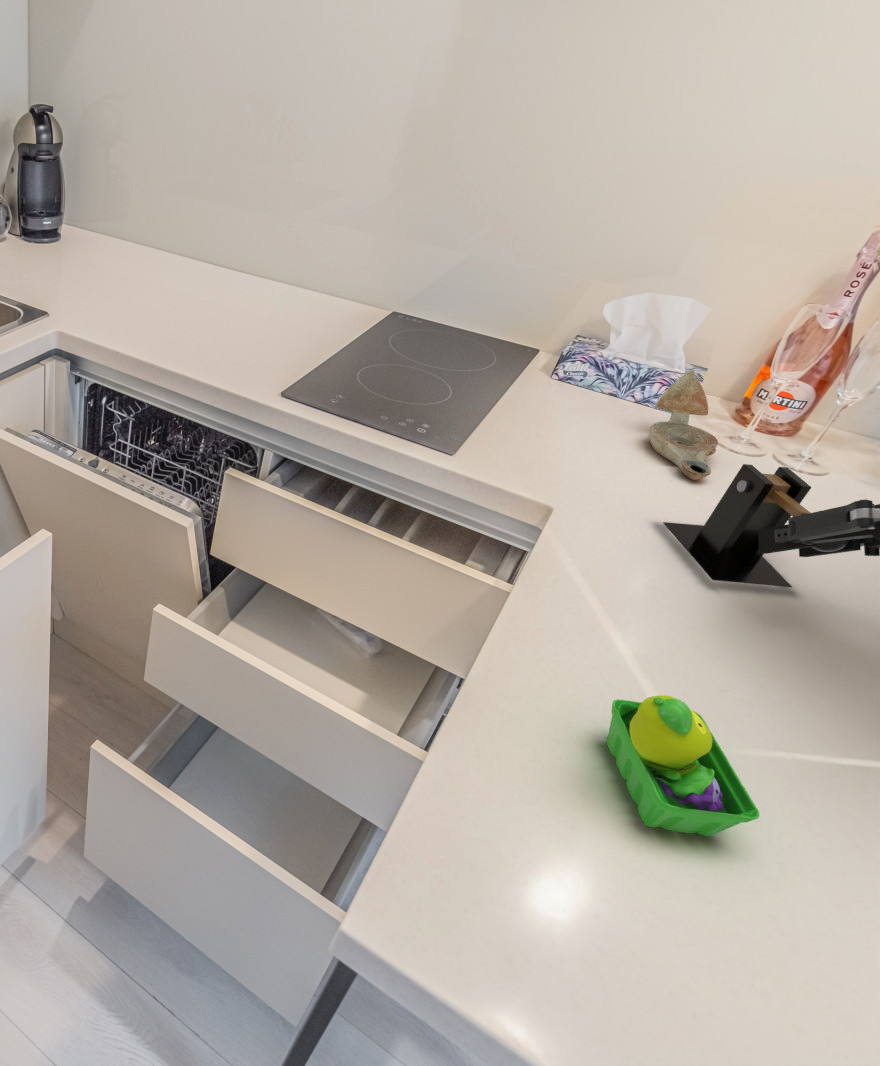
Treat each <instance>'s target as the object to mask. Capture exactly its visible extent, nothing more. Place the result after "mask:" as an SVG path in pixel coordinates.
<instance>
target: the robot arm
mask: <svg viewBox="0 0 880 1066" xmlns="http://www.w3.org/2000/svg"><path fill="white" fill-rule="evenodd" d="M787 523H788V524H785V525H782V526H777V527H772V528H766V529H761V530H758V535H759V553H763V555H765V554H773V553H781V552H786V551H795V550H798V557H799V558H810V557H818V556H826V555H835V554H841V553H848V552H849V553H850V552H855V551H861V550H862V549H861V547H863V549H864V553H863V554H864V556H865V557H880V503H878V504H875V503H873V500H871V499H859V500H856V501H853V502H851V503H848V504H846V505H842V506H837V507H832V508H828V509H823V510H817V511H813V512H810V513H809V514H808V513H801V515H800V516H791V517H790V518H788V521H787ZM842 540H850V542H849V543H848V544H847V545H846V546H845V547H844V548H842V549H840V550H837V551H833V552H823V551H819V550H816V549H814V548H812V547H815V546H817V543H824V542H833V541H842Z"/></svg>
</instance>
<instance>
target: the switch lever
mask: <svg viewBox="0 0 880 1066" xmlns="http://www.w3.org/2000/svg"><path fill="white" fill-rule="evenodd" d="M762 474H763V475H764V476H765V477H766V478H768V479H769V480H770V481H771V482H772V483H773V484H774V486H773V487H772V489H771V490H770V492H769V493H768V494H767V496H766V497H765V499H764V500H763V502H767V503H777V504H778V505H779V506H780V507H781V508H783V509H784V510H785V511H786V512H788V513H789V514H790V515H791V517H793V516H800V515H801V513H808V514H809V513H811V511H809V510H808V509H806V507H804V506H802V504H801V503H800V504H799V503H797V502H796V501H795V500H794V499H792V498H791V497H790V496H788V495H787V494H786V493H787V492H788V490H789V489H790V487H791V486H790V485H789V484H788V483H786V482H785V481H784V480H782V479H781V478H780V477H778V476H777V475H775V473H774V474H772V473H762ZM849 542H850V540H842V541H833V542H824V543H817V546H815V547H812V548H814V549H816V550H819V551H823V552H833V551H837V550H840V549H842V548H844V547H845V546H846V545H847V544H848V543H849Z"/></svg>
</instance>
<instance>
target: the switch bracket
mask: <svg viewBox="0 0 880 1066" xmlns="http://www.w3.org/2000/svg"><path fill="white" fill-rule="evenodd" d="M763 474H764V473H762V472H761V471H760V470H759V469H757V467H755V466H754V465H753V464H747V463H743V464H742V466H741V467H740V468H739V470H738V472H737V473H736V474H735V476H734V478H733V480H732V481H731V483H730V484H729V486H728V487H727V489H726V491H725V492H724V493H723V495H722V497H721V498H720V500H719V502H718V503H717V504H716V506H715V508H714V509H713V511H711V514H710V515H709V517H708V518H707V520H706V521H705V523H704V524H703V525H702V524H701V525H700V524H690V523H680V522H679V523H677V522H667V521H663V522H662V524H664V526H665V527H666V528H667V529H668V530H669V532H670V533H671V534H672V535H673V537H675V538H676V540H677V541H678V542H679V543H680V544H681V545H682V547H683V548H684V549H685V550H686V551H687V553H688V554H690V556H691V557H692V558H693V559H694V561H695V562H696V563H697V564H698V565H699V567H700V568H701V569H702V570H703V571H704V572H705V573H706V574H707V576H708V577H709V578H710V579H711V580H712V581H716V582H719V581H720V582H727V583H728V582H729V583H740V584H750V585H751V584H752V585H762V586H774V587H783V588H784V587H785V588H793V586H792V585H791V584H790V582H789V581H788V580H786V579H785V578H784V577H783V576H782V574H781V573H779V572H778V571H777V569H775V568H774V566H773V565H772V564H771V563H769V561H768V560H767V559H765V557H764V554H763V553H759V535H758V530H761V529H766V528H772V527H777V526H782V525H787V523H788V518H790V517H792V516H791V515H790V514H789V513H788V512H786V511H785V510H784V509H783V508H781V507H780V506H779V505H778V504H777V503H767V502H763V500H764V499H765V497H766V496H767V494H768V493H769V492H770V490H771V489H772V487H773V486H774V484H773V483H772V482H771V481H770V480H769V479H768V478H766V477H765V476H764V475H763ZM774 474H775V475H777V476H778V477H780V478H781V479H782V480H784V481H785V482H786V483H788V484H789V485H790V486H791V487H790V489H789V490H788V492H787V493H786V494H787V495H788V496H790V497H791V498H792V499H794V500H795V501H796V502H797V503H799V504H800V505H801V503H802V502H803V500H804V499H805V497H806V496H807V495H808V494H809V492H810V490H811V489H812V486H811V485H809V484H808V483H807V482H806V481H805V480H804V479H802V478H801V477H800V476H799V475H798V474H796V473H795V472H794V471H793V470H791V469H790V468H789V467H788V466H787V467H785V466H778V468H777V469H776V470H775V472H774Z"/></svg>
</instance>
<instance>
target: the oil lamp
mask: <svg viewBox="0 0 880 1066" xmlns="http://www.w3.org/2000/svg"><path fill="white" fill-rule="evenodd" d="M654 407H655V409H659V410H664V411H668V412H670V413H671V415H670V417H669V420H667V421H658V422H655V423H653V424H651V426H650V428H649V430H648V438H649V442H650V444H651V447H652V449H653V450H654V451H655V452H656V453H657V454H658V455H659V456H661V457H663V458H665V459H667V460H668V461H670V462H671V463H672V464H674V465H676V466H677V467H678V468H679V469H680V471H681V472H682V474H683V475H684V476H685V477H686V478H687V479H690V480H693V481H695V480H700V479H704V478H706V477H708V476H709V475H711V473H712V470H711V468H710V466H709V465H708V464H707V461H705V460H706V458H707V457H709V456H712V455H714V454H715V453H716V452H717V447H718V446H719V440H718V439H717V437H716V436H714V435H713V434H712V433H710V432H709V431H707V430H703V429H702V428H699V427H697V426H694V425H690V424H689V421H690V415H695V416H707V415H708V414H709V403H708V398H707V395H706V393H705V390H704V388H703V386H702V384H701V383H700V381H699V378H697V376H696V373H695V371H694V370H689V371H687V372H686V373H685V374H683V375H682V376H680V377H679V378H678V379H676V380H675V381H674V382H673V383H672V384H671V385H669V387H667V389H666V390H664V392H663V393H662V394H661V396H660V397H659V398H658V400H657V401H656V403H655V405H654Z"/></svg>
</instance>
